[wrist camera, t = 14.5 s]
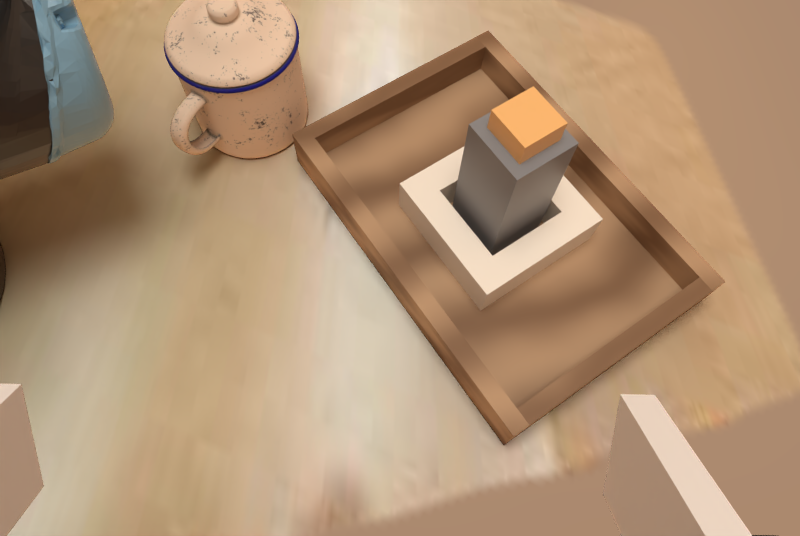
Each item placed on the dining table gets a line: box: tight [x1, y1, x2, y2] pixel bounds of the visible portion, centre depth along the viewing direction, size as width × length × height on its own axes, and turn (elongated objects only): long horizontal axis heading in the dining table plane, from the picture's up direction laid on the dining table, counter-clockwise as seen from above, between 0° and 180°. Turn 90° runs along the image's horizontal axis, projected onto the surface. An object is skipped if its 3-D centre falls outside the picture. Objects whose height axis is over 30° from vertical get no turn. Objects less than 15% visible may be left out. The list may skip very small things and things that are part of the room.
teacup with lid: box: [164, 0, 308, 158], centre depth 45 cm, size 12×9×12 cm
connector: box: [452, 86, 579, 256], centre depth 41 cm, size 4×4×13 cm
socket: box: [399, 147, 603, 311], centre depth 45 cm, size 10×10×3 cm
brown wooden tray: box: [292, 31, 725, 445], centre depth 46 cm, size 26×18×4 cm
